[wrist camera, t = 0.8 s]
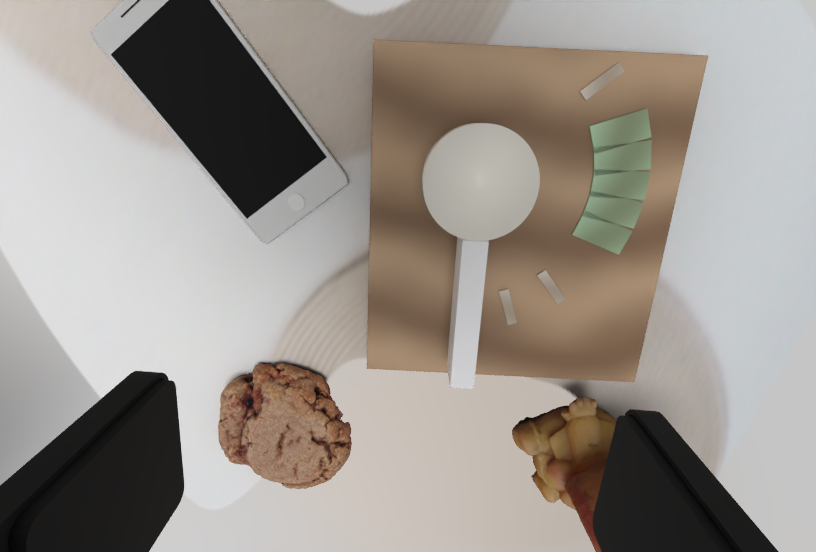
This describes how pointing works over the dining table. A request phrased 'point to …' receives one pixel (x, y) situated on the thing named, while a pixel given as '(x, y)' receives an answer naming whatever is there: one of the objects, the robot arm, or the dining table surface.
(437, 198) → the peg dial
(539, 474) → the figurine
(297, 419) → the cookie
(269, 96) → the smartphone
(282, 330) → the dining table surface
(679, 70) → the tuner board
